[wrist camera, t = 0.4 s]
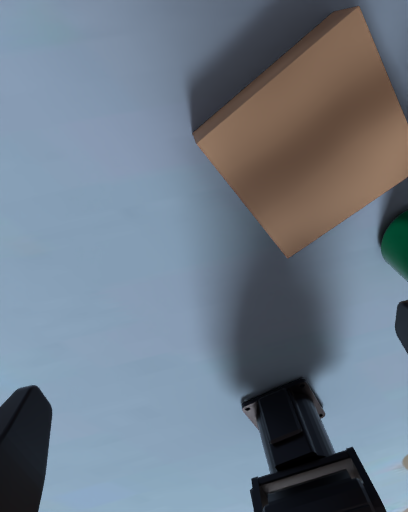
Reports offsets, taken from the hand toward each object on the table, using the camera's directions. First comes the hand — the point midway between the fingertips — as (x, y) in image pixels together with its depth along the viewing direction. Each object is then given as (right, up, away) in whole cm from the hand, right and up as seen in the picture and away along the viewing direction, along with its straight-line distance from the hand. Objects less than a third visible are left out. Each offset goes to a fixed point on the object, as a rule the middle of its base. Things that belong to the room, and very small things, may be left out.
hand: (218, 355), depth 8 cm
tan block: (+5, +9, +12) cm, 16 cm away
